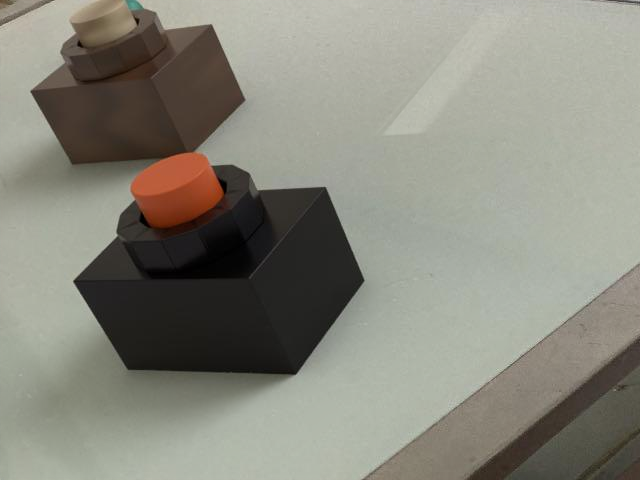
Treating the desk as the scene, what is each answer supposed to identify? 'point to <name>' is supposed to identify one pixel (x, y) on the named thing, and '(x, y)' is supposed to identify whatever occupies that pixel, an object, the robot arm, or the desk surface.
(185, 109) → the back block
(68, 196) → the desk surface
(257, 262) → the front block
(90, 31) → the back button
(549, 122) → the desk surface
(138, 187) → the front button
